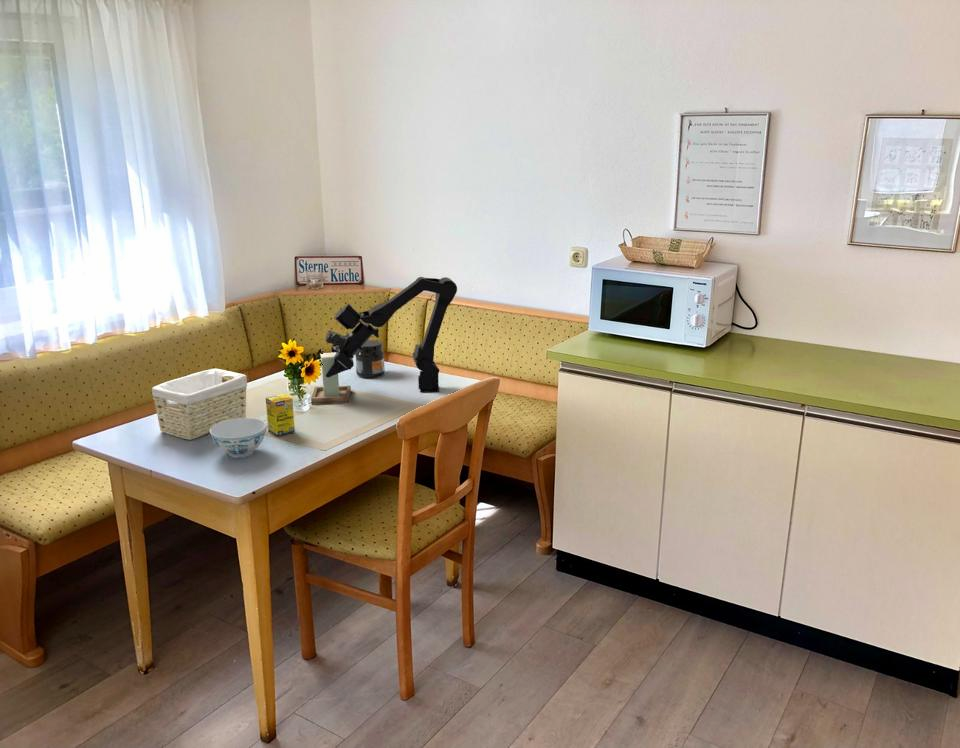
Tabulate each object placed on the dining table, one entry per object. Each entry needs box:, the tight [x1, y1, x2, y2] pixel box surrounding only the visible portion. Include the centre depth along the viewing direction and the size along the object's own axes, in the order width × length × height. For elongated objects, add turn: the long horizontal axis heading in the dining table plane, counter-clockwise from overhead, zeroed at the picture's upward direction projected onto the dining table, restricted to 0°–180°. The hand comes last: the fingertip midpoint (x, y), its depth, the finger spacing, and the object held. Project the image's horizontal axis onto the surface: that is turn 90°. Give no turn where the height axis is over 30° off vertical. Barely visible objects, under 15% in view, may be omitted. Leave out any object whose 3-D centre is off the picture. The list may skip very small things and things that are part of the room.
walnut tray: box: [310, 385, 352, 405], centre depth 265 cm, size 12×12×2 cm
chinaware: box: [209, 417, 267, 458], centre depth 220 cm, size 15×15×8 cm
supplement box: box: [265, 393, 296, 438], centre depth 234 cm, size 6×6×11 cm
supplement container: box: [354, 339, 386, 379], centre depth 287 cm, size 10×10×12 cm
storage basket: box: [151, 368, 248, 441], centre depth 239 cm, size 24×16×15 cm
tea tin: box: [319, 352, 340, 397], centre depth 263 cm, size 5×5×14 cm
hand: (325, 372), depth 262 cm, fingers open, 9 cm apart
